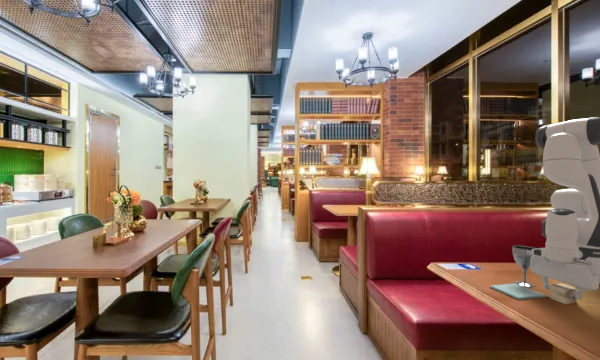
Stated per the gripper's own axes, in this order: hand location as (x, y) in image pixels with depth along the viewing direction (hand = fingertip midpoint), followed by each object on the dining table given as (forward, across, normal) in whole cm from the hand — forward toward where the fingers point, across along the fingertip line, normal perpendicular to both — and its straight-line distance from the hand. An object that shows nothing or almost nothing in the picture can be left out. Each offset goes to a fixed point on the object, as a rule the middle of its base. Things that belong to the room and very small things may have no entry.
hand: (561, 293), depth 102 cm
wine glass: (+2, +16, -2) cm, 16 cm away
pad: (+2, +9, +9) cm, 13 cm away
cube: (+2, 0, 0) cm, 2 cm away
